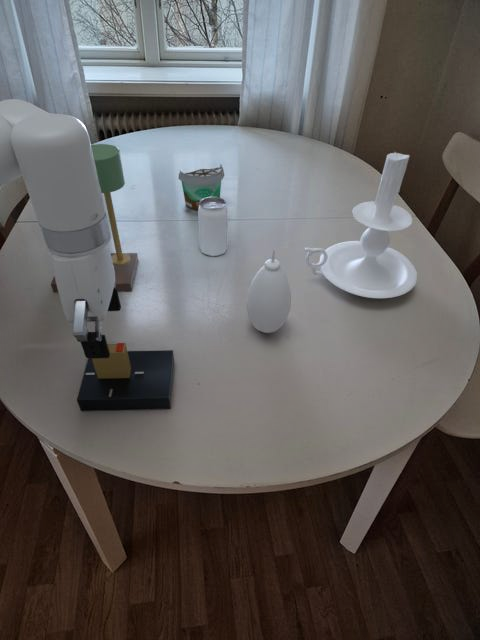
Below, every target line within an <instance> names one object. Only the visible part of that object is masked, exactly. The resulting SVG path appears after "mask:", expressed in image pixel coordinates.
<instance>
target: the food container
mask: <svg viewBox="0 0 480 640" xmlns="http://www.w3.org/2000/svg"><path fill="white" fill-rule="evenodd" d="M219 166H220V167H215V168H199V169H196V170H194V171H190V172H189V171H188V172H182V171H181V170H179V172H178V180H179V181H181V187H182V192H183V197H184V203H185V206H186V207H187V208H188V209H189V210H191V211H195V212H198V208H199V206H200V201H201V200H202V199H204V198H207V197H219V198H221V188H222V181H223V179H224V178H225V170H224V167H223V165H222V164H221V163H220V164H219Z"/></svg>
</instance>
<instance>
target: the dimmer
mask: <svg viewBox="0 0 480 640" xmlns="http://www.w3.org/2000/svg"><path fill="white" fill-rule="evenodd" d="M127 352H128V356H129V360H130V365H131V373H130V378H105V379H98V376H97V373H96V370H95V367H94V364H93V361H92V359H88V358H87V361H86V365H85V369H84V372H83V376H82V379H81V383H80V386H79V390H78V393H77V396H76V402H77V405H78V407H79V409H80V412H105V411H107V412H108V411H109V412H110V411H141V410H142V411H144V410H145V411H147V410H171V407H172V396H173V385H174V384H173V383H174V373H175V372H174V371H175V354H174V350H173V349H168V350H163V349H162V350H159V349H158V350H127Z"/></svg>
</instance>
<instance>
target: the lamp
mask: <svg viewBox="0 0 480 640" xmlns="http://www.w3.org/2000/svg"><path fill="white" fill-rule="evenodd" d="M91 147H92V152H93V156H94V161H95V166H96V170H97V175H98V179H99V184H100V188H101V193H102V194H103V196H104V201H105V207H106V212H107V215H108V222H109V227H110V232H111V236H112V240H113V244H114V249H115V253H116V254H115V255H113V256H112V261H113V265H115V266H124V265H126V264H128V263H129V262H130V256H129V255H128V254H125V253H126V252H123V250H122V245H121V239H120V235H119V230H118V224H117V219H116V214H115V213H116V212H115V209H114V203H113V199H112V194H111V193H113V192H116V191H119V190H121V189H122V188H124V186H125V184H126V181H125V175H124V169H123V164H122V163H123V162H122V157H121V152H120V149H119V147H117V146H116V145H113V144H107V143H97V144H91Z"/></svg>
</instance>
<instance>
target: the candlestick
mask: <svg viewBox="0 0 480 640" xmlns="http://www.w3.org/2000/svg"><path fill="white" fill-rule="evenodd" d="M409 159H410V154H403V153H399V152H396V151H394V152H390V153H388V154H387V155H386V158H385V162H384V166H383V170H382V173H381V177H380V181H379V185H378V190H377V193H376V197H375V200H371V201H370V200H369V201H364V202H361V203H358V204H356V205H355V206H354V207H353V209H352V210H351V211H352V212H351V213H352V216H353V218H354V219H355V220H356V221H357V222H358V223H360V224H361V225H363V226H366V227H368V228H366V230H365V231H364V232H363V233H362V234H361V236H360V240H348V241H342V242H338V243H335V244H332V245H330V246H329V247H327V248H326V249H324V248H321V247H314V248H311V247H304V251H305V252H307V253H306V255H305V259H304V260H305V263H306V264H307V266H308V267H310V270H311V274H312V275H315V276H324V277H325V278H326V280H328V281H329V282H330V283H331V284H332V285H333V286H335V287H336V288H339V289H340V290H342V291H344V292H346V293H348V294H352V295H355V296H359V297H362V298H367V299H392V298H396V297H400V296H403V295H405V294H406V293H408V292H410V291H411V290H412V289H413V288H414V287H415V286H416V284H417V281H418V272H417V270H416V266H415V265H414V264H413V263H412V262H411V260H410V259H408V257H406V256H405V255H404V254H402V253H401V252H400V251H398V250H397V249H393V248H392V247H389V246H390V243H391V242H390V241H391V239H390V235H389V232H396V231H402V230H405V229H407V228H409V227H410V226H411V225H412V224H413V217H412V215H411V213H409V211H408V210H406V209H405V208H403V207H401V206H398V205H396V201H397V198H398V195H399V193H400V190H401V186H402V183H403V179H404V176H405V173H406V170H407V167H408V162H409ZM317 253H320V256H319V262H317V263H313V262H311V261H310V258H311V256H313V255H314V254H317ZM319 268H320V270H317V269H319Z"/></svg>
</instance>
